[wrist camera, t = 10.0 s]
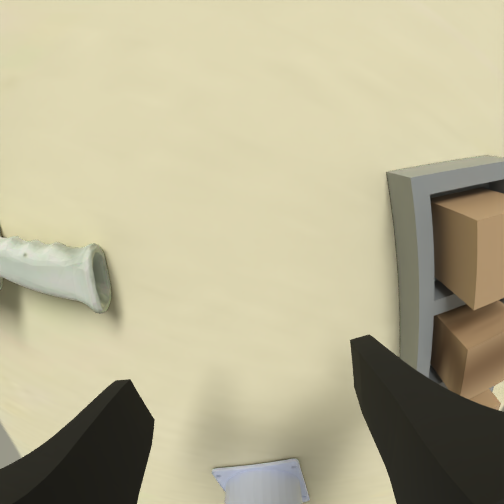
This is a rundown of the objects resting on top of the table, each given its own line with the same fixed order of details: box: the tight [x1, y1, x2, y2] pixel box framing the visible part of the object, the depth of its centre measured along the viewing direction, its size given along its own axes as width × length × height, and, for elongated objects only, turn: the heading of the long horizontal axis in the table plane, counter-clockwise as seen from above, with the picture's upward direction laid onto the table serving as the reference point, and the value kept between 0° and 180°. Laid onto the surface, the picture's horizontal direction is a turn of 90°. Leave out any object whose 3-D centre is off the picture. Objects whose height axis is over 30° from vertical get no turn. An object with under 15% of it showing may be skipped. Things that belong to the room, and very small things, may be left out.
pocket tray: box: [386, 155, 504, 410], centre depth 17 cm, size 22×8×6 cm, turn 14°
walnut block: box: [430, 300, 504, 399], centre depth 16 cm, size 4×4×5 cm
